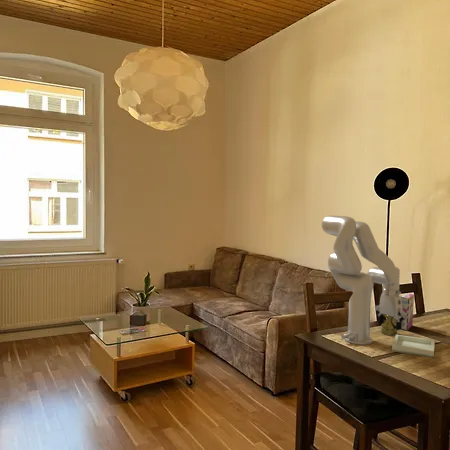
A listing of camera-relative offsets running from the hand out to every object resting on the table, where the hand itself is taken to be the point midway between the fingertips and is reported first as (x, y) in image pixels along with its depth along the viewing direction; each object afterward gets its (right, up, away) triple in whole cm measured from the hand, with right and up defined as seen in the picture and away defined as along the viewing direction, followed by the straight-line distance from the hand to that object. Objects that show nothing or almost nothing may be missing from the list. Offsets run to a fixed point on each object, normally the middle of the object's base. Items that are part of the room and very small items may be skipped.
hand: (389, 326), depth 208 cm
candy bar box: (+12, -3, +10) cm, 16 cm away
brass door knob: (0, -3, 0) cm, 3 cm away
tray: (+2, -5, -21) cm, 21 cm away
